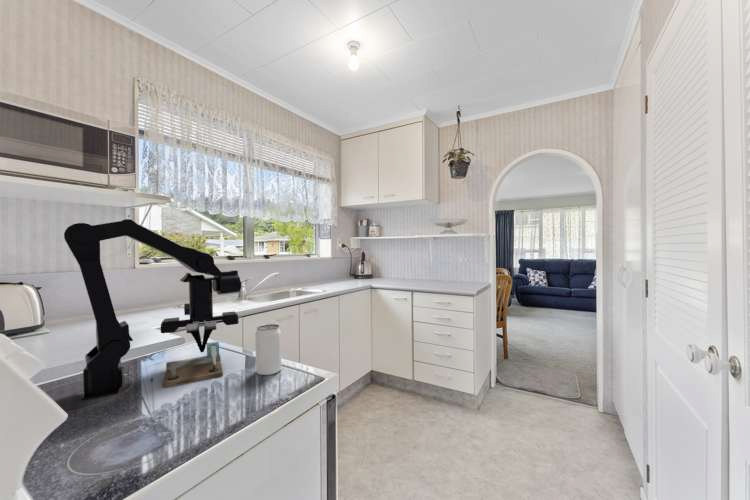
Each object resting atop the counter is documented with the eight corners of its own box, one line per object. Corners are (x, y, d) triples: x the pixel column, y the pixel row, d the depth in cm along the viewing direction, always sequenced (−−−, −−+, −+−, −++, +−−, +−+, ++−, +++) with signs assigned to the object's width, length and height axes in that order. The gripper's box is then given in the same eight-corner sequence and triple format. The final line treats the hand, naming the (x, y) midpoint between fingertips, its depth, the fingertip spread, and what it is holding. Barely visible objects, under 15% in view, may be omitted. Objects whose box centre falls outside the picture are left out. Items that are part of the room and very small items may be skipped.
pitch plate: (162, 387, 75) (162, 369, 75) (167, 370, 86) (166, 354, 85) (222, 376, 81) (222, 358, 81) (220, 361, 92) (219, 346, 92)
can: (256, 368, 86) (256, 325, 86) (281, 365, 88) (280, 323, 88) (255, 377, 80) (254, 331, 80) (281, 374, 82) (280, 328, 82)
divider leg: (207, 370, 82) (207, 353, 82) (207, 358, 91) (206, 343, 90) (220, 367, 83) (220, 351, 83) (218, 356, 92) (218, 341, 92)
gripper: (234, 290, 100) (235, 339, 100) (163, 295, 91) (165, 349, 91) (238, 295, 90) (239, 349, 90) (159, 301, 81) (161, 361, 81)
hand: (202, 351), depth 88 cm, fingers closed
